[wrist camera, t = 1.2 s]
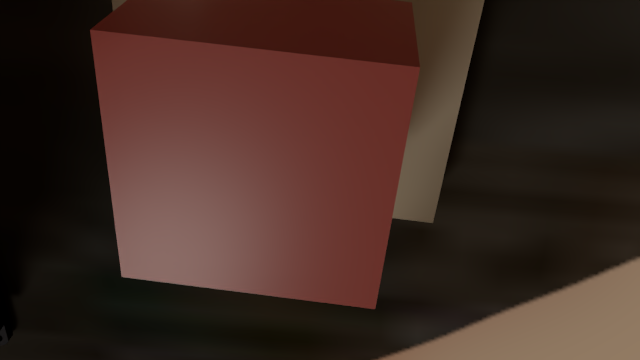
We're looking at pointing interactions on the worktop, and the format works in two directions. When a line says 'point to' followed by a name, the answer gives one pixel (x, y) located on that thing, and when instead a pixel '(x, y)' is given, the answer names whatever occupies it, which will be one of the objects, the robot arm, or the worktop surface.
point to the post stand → (432, 99)
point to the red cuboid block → (257, 141)
